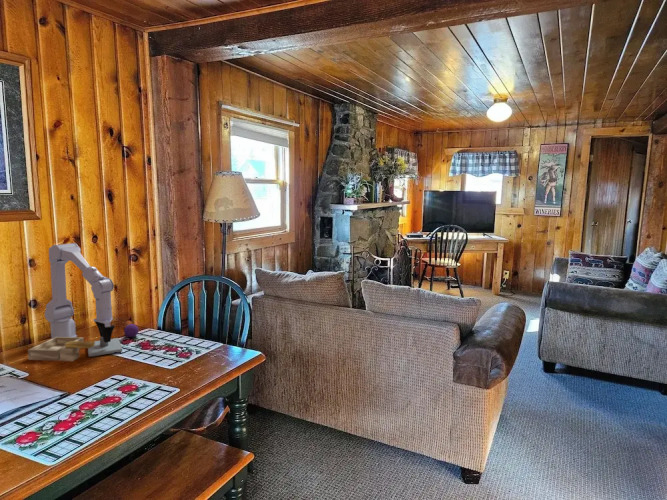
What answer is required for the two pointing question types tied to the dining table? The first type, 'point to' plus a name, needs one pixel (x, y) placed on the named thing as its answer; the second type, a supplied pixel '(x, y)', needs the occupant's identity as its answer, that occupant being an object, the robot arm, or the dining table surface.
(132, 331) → the kendama
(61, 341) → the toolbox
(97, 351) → the lid
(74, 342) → the yellow rectangular block
